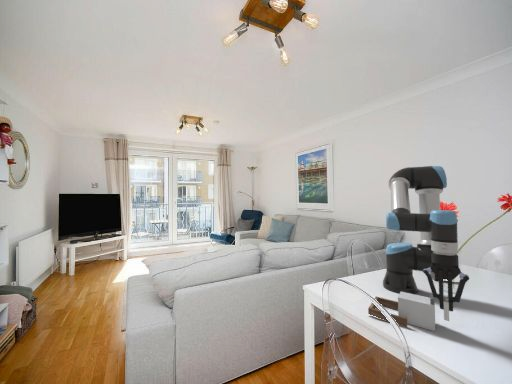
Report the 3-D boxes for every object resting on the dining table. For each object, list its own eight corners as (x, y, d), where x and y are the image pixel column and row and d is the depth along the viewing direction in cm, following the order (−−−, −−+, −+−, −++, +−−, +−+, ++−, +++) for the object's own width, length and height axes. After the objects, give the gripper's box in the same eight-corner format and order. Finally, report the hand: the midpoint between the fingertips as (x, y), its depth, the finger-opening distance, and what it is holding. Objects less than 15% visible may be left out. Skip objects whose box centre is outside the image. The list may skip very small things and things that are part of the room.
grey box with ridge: (401, 313, 93) (400, 286, 93) (435, 322, 86) (434, 293, 86) (398, 320, 87) (397, 292, 88) (434, 331, 80) (433, 299, 81)
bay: (375, 303, 102) (375, 296, 102) (410, 312, 94) (410, 305, 94) (368, 315, 91) (368, 308, 91) (407, 327, 83) (406, 319, 83)
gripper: (421, 252, 83) (423, 317, 82) (470, 257, 75) (472, 330, 74) (422, 248, 89) (424, 309, 88) (467, 253, 81) (469, 320, 80)
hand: (446, 318), depth 81 cm, fingers closed
